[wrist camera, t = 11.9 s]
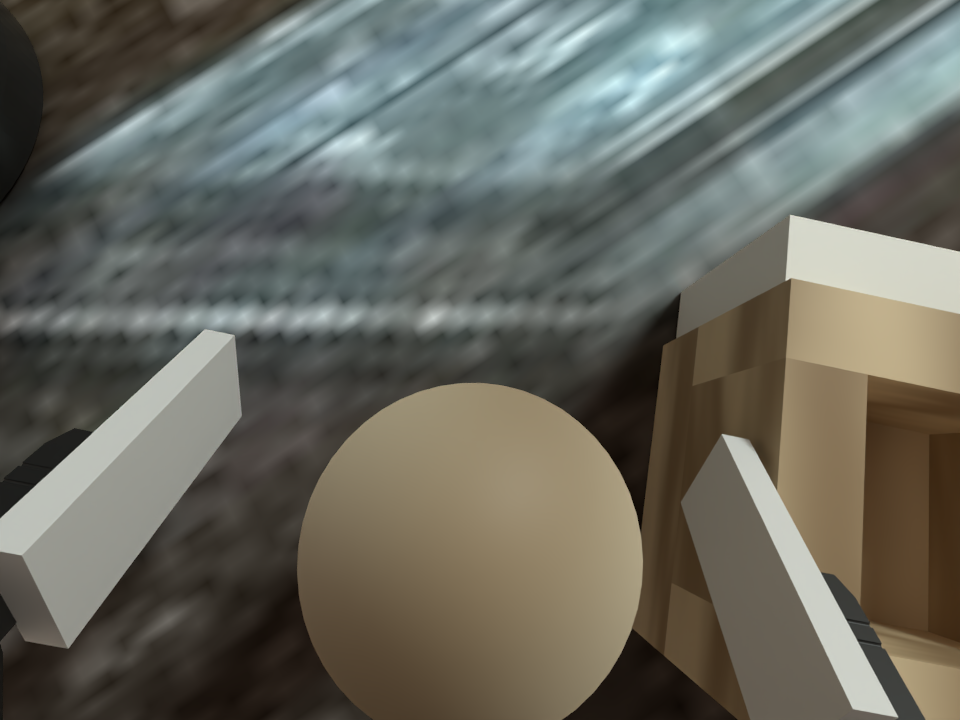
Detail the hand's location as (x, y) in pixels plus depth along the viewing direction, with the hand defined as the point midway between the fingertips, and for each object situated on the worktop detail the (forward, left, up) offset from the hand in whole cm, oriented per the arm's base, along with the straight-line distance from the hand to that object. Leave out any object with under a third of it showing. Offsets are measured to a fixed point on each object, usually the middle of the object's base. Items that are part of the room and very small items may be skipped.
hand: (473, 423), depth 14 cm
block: (+13, 0, -6) cm, 14 cm away
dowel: (0, -2, -6) cm, 7 cm away
